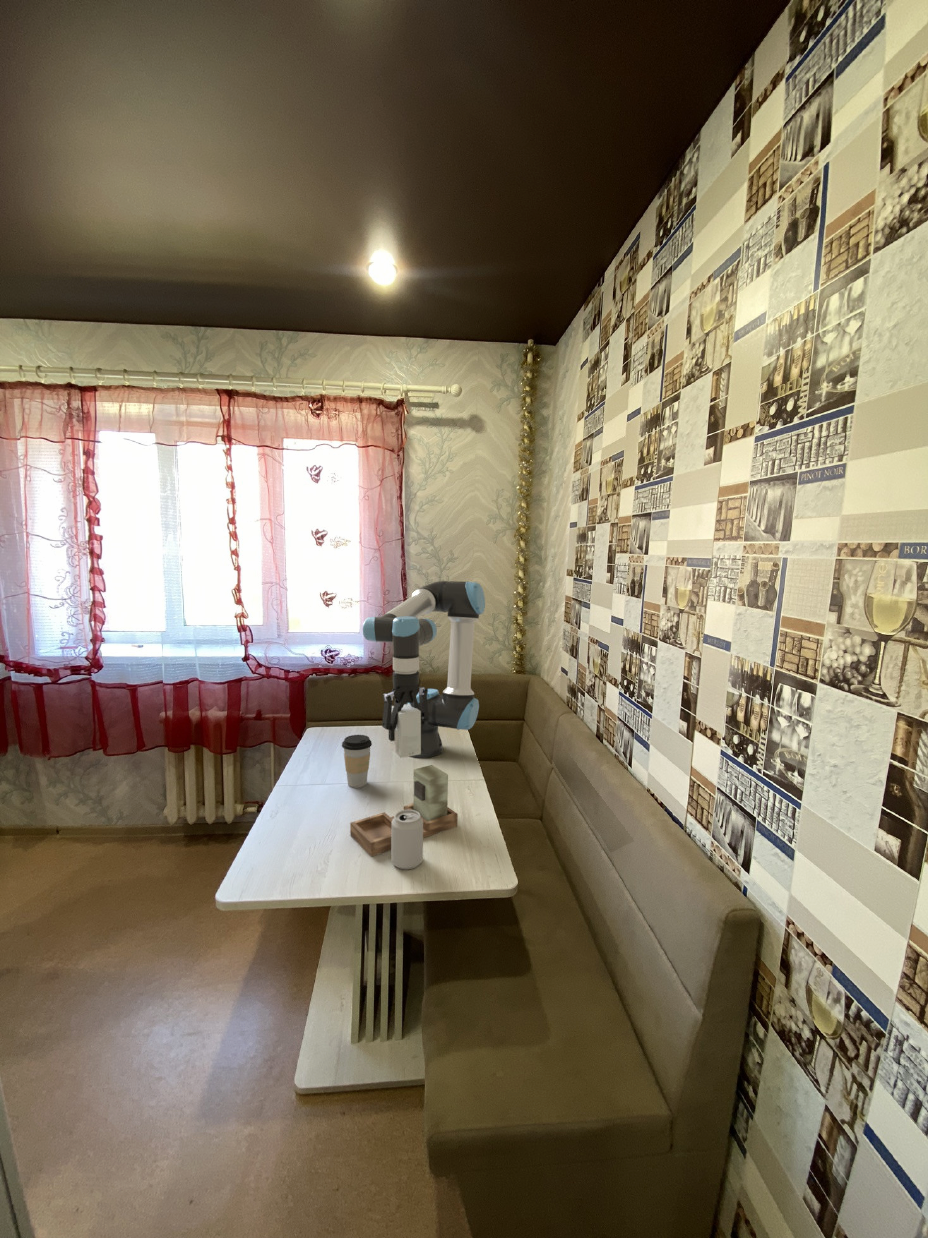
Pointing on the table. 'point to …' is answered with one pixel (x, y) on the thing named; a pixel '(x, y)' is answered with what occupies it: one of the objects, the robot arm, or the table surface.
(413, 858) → the can
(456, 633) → the robot arm
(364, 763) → the coffee cup
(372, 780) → the table surface
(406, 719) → the small box
